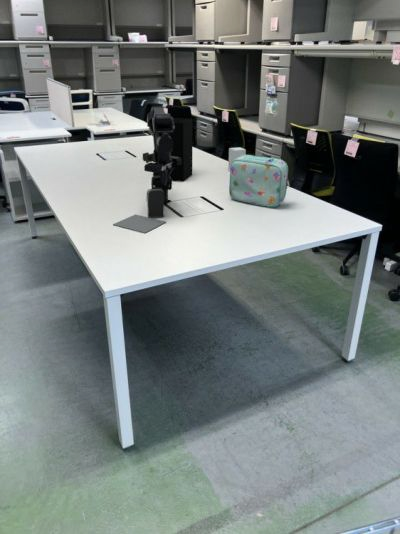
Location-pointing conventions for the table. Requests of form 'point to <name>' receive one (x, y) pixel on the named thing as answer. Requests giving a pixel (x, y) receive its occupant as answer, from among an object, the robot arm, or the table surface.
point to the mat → (140, 223)
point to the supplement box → (235, 154)
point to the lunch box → (258, 180)
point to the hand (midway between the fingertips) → (164, 184)
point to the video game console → (182, 148)
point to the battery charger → (155, 203)
